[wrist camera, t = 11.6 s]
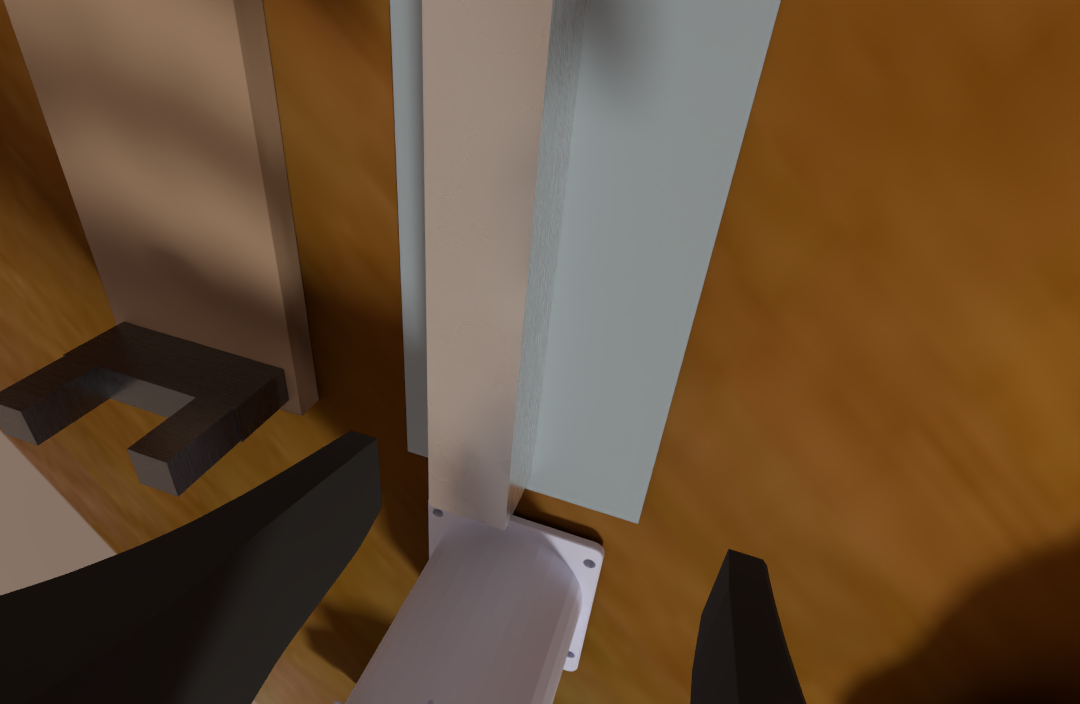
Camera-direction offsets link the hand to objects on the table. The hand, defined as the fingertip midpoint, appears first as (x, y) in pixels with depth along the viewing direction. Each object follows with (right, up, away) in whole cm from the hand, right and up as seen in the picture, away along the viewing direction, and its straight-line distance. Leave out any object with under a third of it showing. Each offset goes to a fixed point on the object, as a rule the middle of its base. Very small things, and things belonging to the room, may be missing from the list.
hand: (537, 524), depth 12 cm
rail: (-1, +8, +6) cm, 10 cm away
